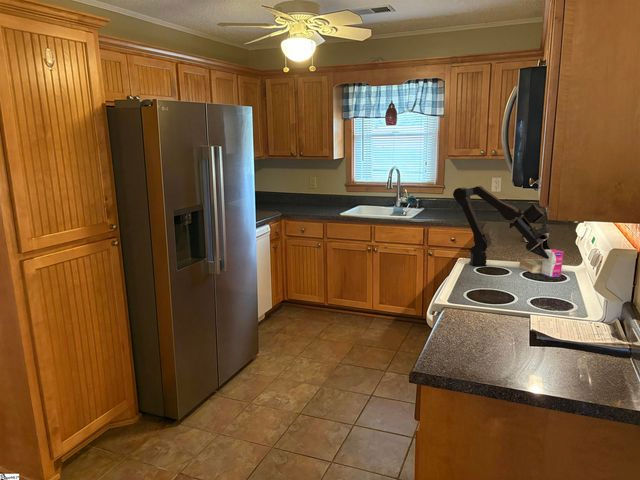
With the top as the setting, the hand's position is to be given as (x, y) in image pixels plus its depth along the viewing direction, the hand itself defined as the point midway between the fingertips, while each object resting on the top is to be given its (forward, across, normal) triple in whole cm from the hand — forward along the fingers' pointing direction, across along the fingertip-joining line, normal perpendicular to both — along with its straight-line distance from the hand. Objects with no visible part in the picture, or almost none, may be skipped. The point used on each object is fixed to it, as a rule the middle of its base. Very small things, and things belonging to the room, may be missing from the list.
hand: (550, 256), depth 214 cm
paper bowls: (-11, +81, +23) cm, 85 cm away
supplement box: (+7, 0, +6) cm, 9 cm away
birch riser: (+2, +9, +10) cm, 13 cm away
